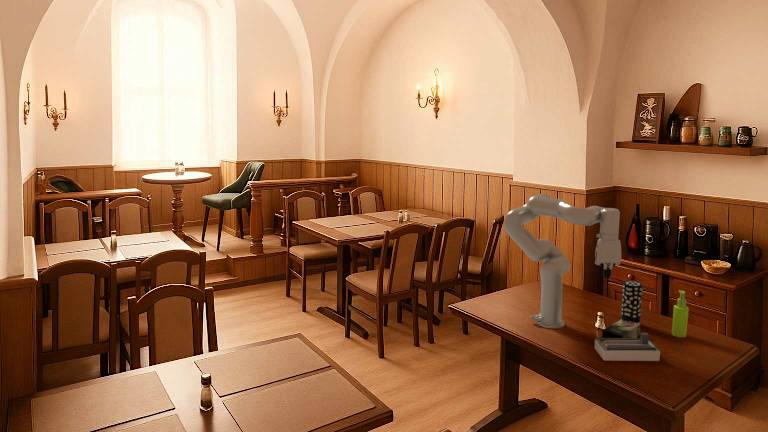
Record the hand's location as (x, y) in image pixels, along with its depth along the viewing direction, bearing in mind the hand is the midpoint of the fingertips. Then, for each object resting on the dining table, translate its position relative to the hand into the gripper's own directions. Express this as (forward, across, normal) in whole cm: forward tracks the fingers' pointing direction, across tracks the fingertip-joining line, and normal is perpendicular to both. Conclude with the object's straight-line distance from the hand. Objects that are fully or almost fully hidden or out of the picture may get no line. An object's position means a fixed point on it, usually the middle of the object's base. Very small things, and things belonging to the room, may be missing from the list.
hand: (606, 277), depth 254 cm
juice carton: (+28, +7, -3) cm, 29 cm away
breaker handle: (+23, +10, -20) cm, 32 cm away
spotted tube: (+27, +17, +14) cm, 35 cm away
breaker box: (+27, +3, -20) cm, 34 cm away
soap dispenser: (+27, +34, +2) cm, 44 cm away
